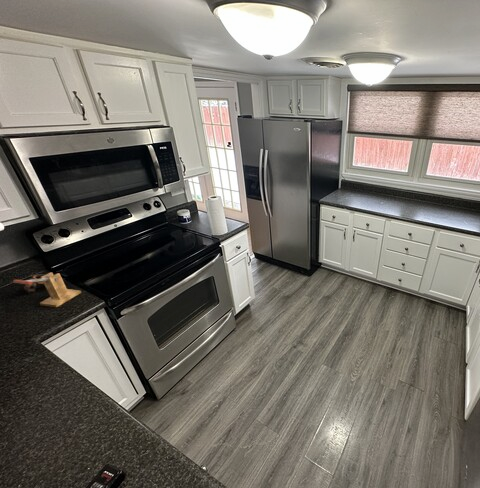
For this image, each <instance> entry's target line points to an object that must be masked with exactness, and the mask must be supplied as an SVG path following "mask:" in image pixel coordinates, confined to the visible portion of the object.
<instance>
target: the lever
mask: <svg viewBox="0 0 480 488" xmlns="http://www.w3.org/2000/svg"><path fill="white" fill-rule="evenodd" d="M53 275H54V274H53ZM53 275H52V276H53ZM49 277H51V276H47V277H46V278H37V279H33V280H30V279H26V280H23V279H13V281H12V282H13V284H21V285H26V284H27V285H31V284H32V282H36V283H37V282H38V281H45V280H46V281H49V279H48V278H49Z"/></svg>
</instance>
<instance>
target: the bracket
mask: <svg viewBox="0 0 480 488" xmlns="http://www.w3.org/2000/svg"><path fill="white" fill-rule="evenodd" d="M43 275H44V276H42V277H41V278H46V277H47V276H51V277H49V278H48V279H49V281H46V280H45V281H43V283H44V284H43V285H44V287H45V289H46V291H47V292H48V294H49V297H48V298H46V299H44V300H43V301H40V302H39V305H40V306H43V307H51V308H58V307H60V306H62V305H63V304H65V303H66V302H68V301H70V300H71V299H73V298H75V297H76V296H78V295H79V294H82V291H81V290H80V289H79V290H78V289H70V288H67V286H66V284H65V282H64V280H63V278H62V276H61V274H60V273H55V274H54V273H53V272H48V273H46V274H43ZM52 275H53V276H52ZM41 278H40V279H41Z"/></svg>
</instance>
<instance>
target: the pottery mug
mask: <svg viewBox="0 0 480 488" xmlns="http://www.w3.org/2000/svg"><path fill="white" fill-rule="evenodd" d="M44 275H45V274H43V273H42V274H41V273H40V274H39V273H38V274H35V275H33V276H32V277H31V278H30V279H29V280H33V279H41V277H42V276H44ZM37 284H39V285H40V284H41V285H44V283H43V281H38V282H32V284H31V285H27V284H24V287H23V290H24V291H26V292H27V293H34V292H36V287H37Z"/></svg>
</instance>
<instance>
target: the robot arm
mask: <svg viewBox="0 0 480 488" xmlns="http://www.w3.org/2000/svg"><path fill="white" fill-rule="evenodd" d="M4 230H5V226H4V224H3V223H2V222H0V232H1V231H4Z"/></svg>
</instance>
